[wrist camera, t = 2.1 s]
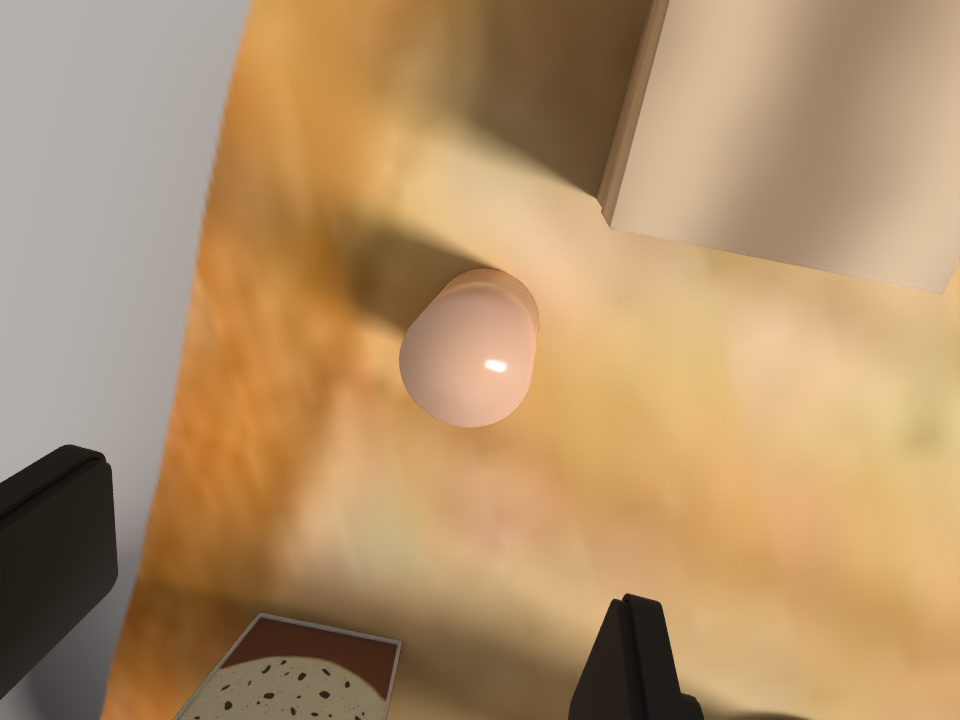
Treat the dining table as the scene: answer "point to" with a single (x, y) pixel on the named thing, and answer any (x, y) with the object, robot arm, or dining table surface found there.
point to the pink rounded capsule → (472, 349)
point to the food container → (298, 675)
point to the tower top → (799, 135)
